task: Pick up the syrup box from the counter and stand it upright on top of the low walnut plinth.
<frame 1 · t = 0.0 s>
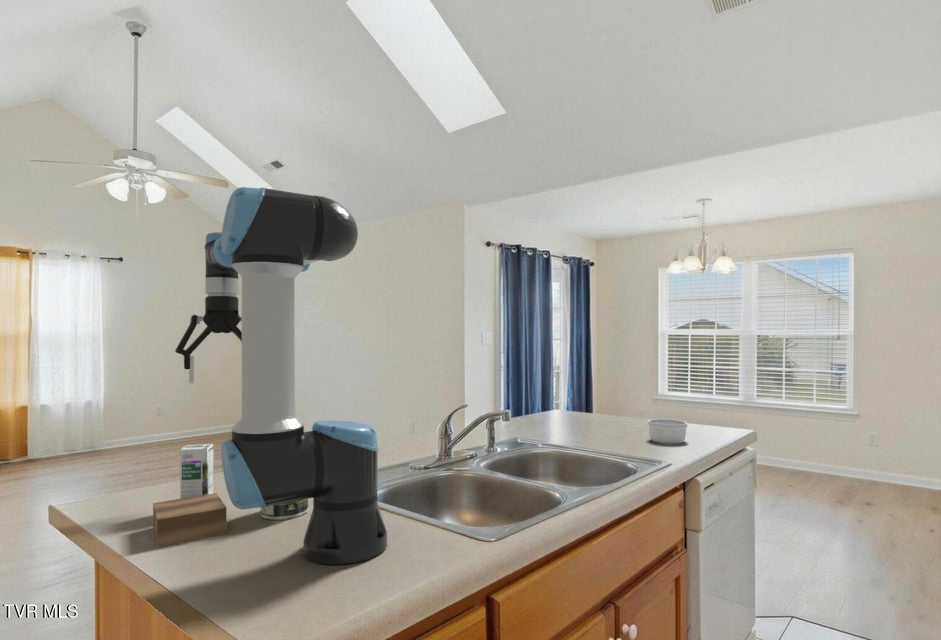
hand: (222, 381, 134), 28 cm above the worktop, tool pointing down, fingers open, 13 cm apart
coffee can: (284, 513, 121), on the worktop
plinth: (189, 530, 110), on the worktop
ramekin: (667, 441, 194), on the worktop
syrup box: (197, 511, 123), on the worktop
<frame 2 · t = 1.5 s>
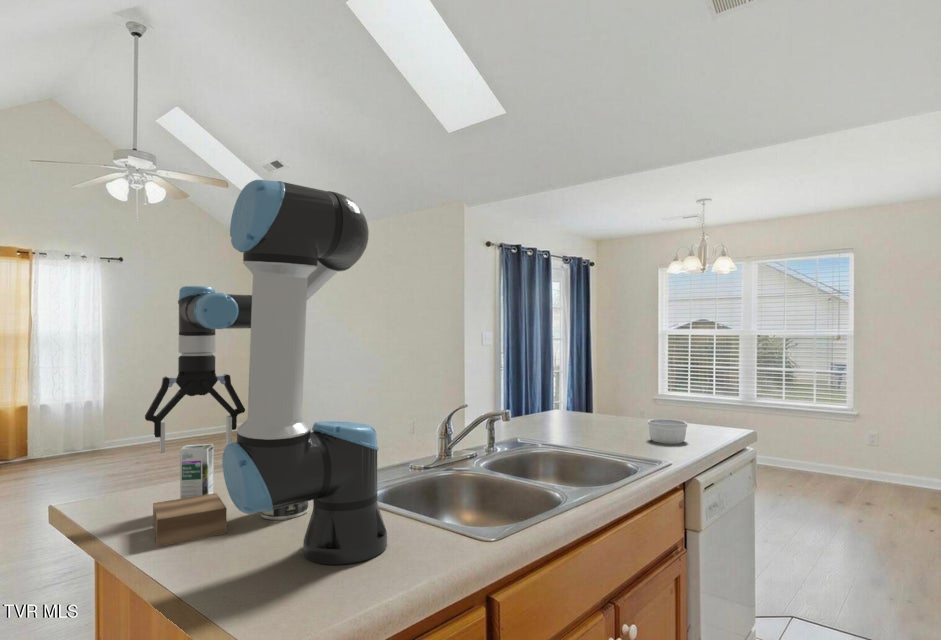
hand: (196, 448, 123), 14 cm above the worktop, tool pointing down, fingers open, 13 cm apart
nothing on the worktop moved.
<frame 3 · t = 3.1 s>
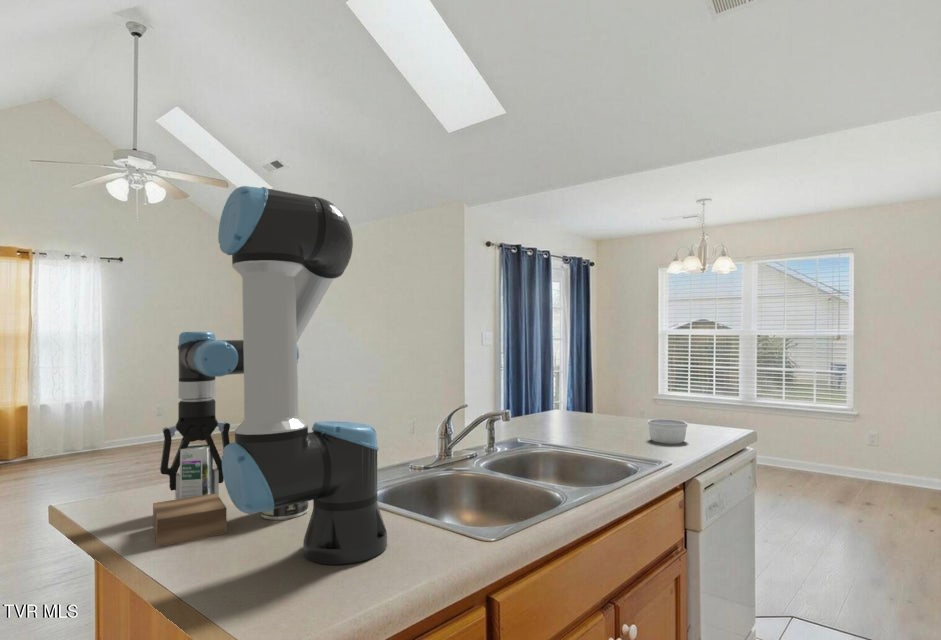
hand: (197, 500, 123), 2 cm above the worktop, tool pointing down, fingers closed on syrup box, 7 cm apart
syrup box: (197, 510, 123), on the worktop, touching gripper
everything else where it was.
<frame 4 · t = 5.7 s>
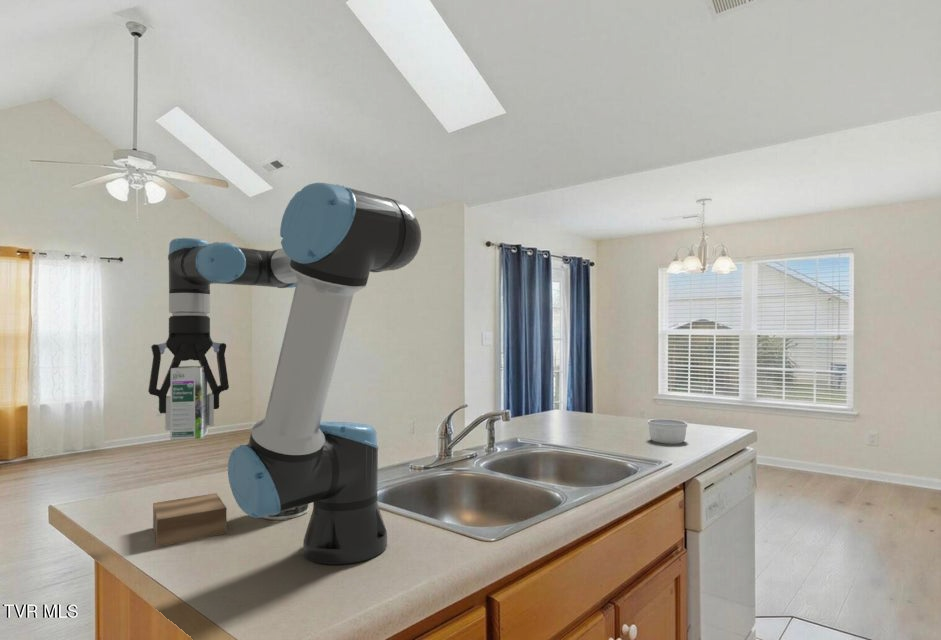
hand: (189, 427, 111), 21 cm above the worktop, tool pointing down, fingers closed on syrup box, 7 cm apart
syrup box: (189, 438, 111), point 19 cm above the worktop, touching gripper
everything else where it was.
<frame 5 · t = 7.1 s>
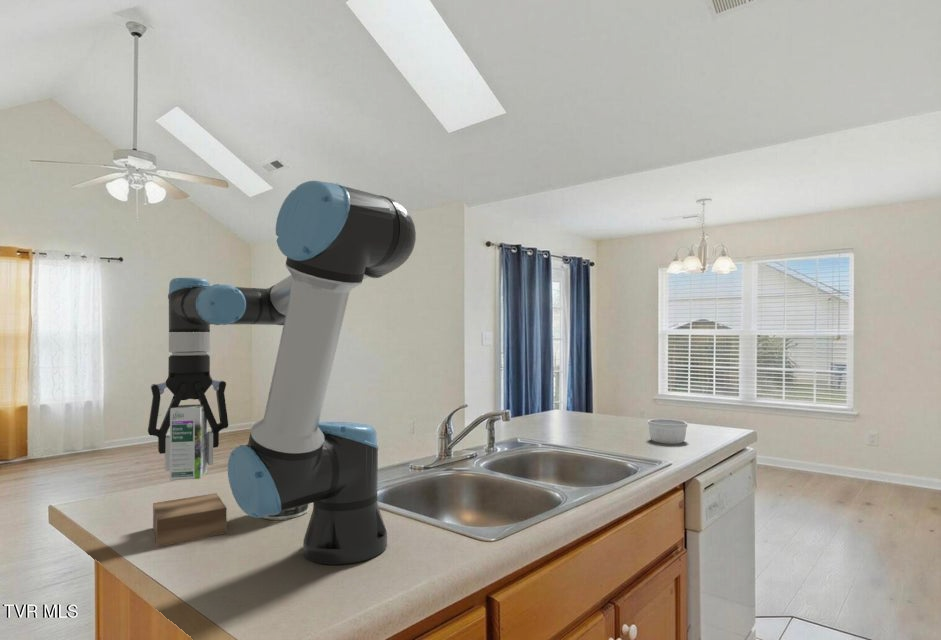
hand: (189, 466, 110), 13 cm above the worktop, tool pointing down, fingers closed on syrup box, 7 cm apart
syrup box: (188, 477, 110), point 11 cm above the worktop, touching gripper
everything else where it was.
when the fingers open (9 cm above the worktop, at t = 8.3 s): syrup box drops 1 cm, resting on plinth.
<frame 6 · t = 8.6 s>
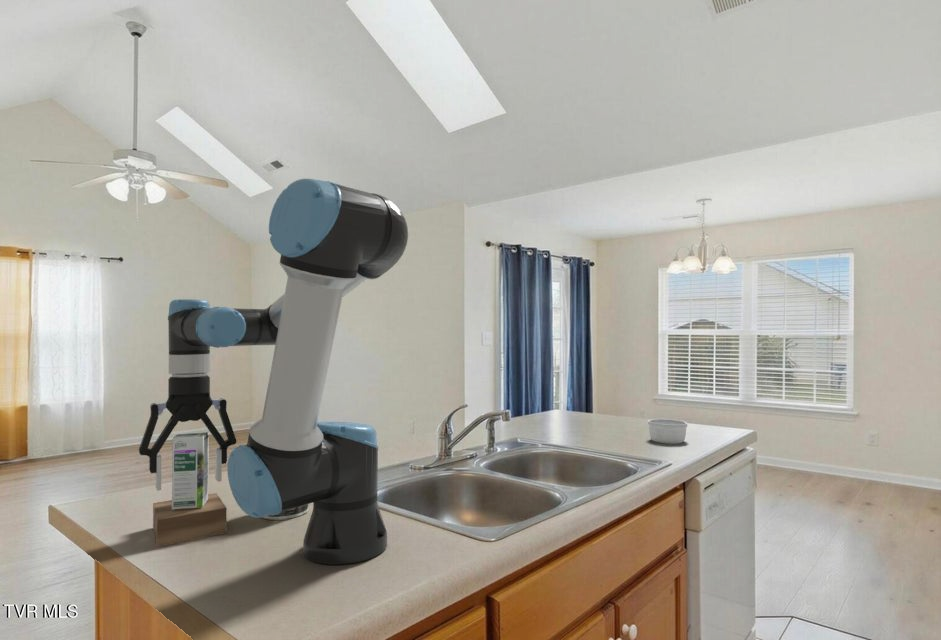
hand: (189, 484, 110), 9 cm above the worktop, tool pointing down, fingers open, 10 cm apart
syrup box: (190, 506, 110), point 5 cm above the worktop, touching plinth
everything else where it was.
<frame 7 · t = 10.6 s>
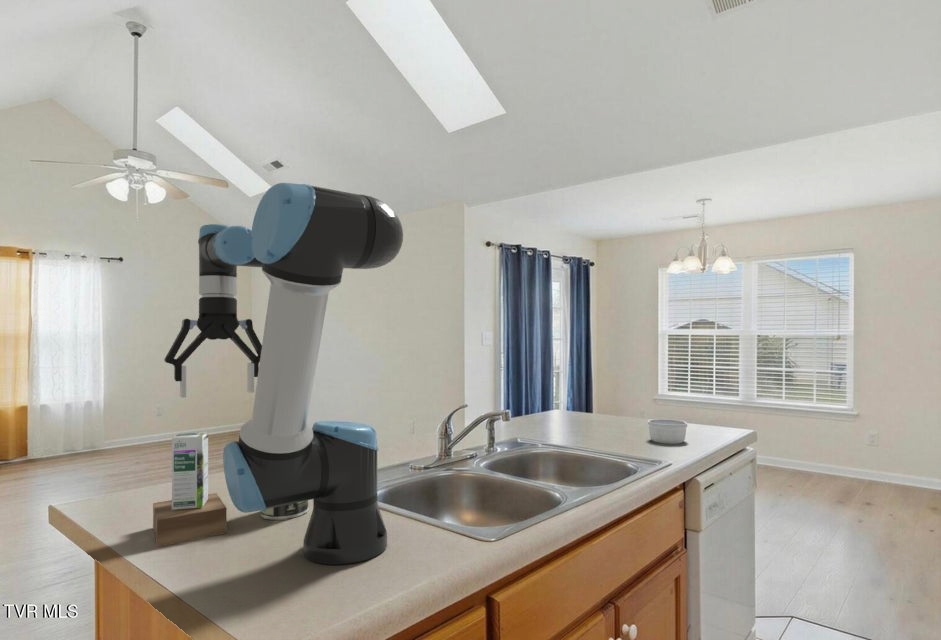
hand: (218, 394, 118), 27 cm above the worktop, tool pointing down, fingers open, 13 cm apart
nothing on the worktop moved.
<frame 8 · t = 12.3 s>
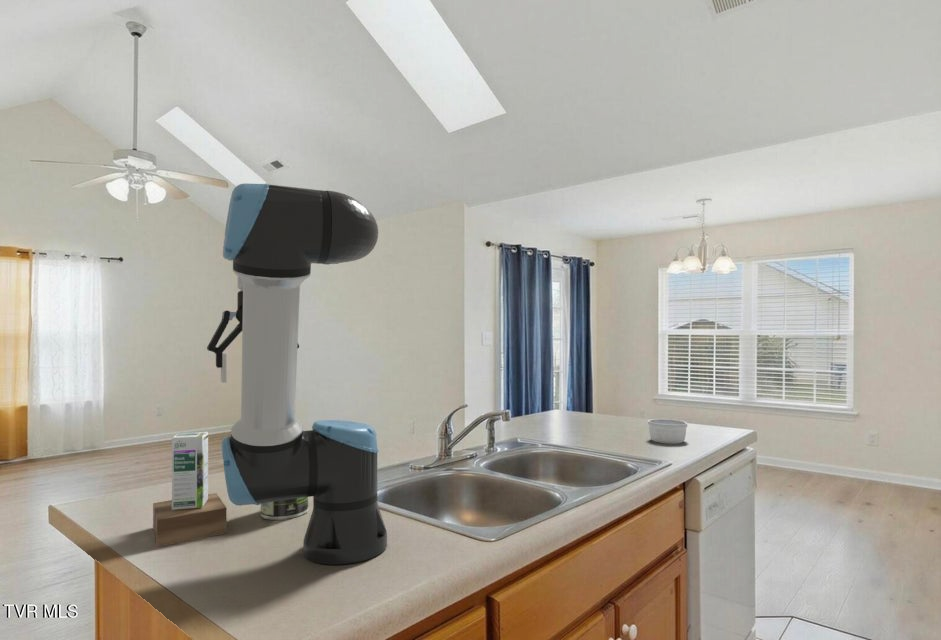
hand: (254, 380, 128), 29 cm above the worktop, tool pointing down, fingers open, 13 cm apart
nothing on the worktop moved.
at the end: syrup box inside the target area on the plinth (0.2 cm from its centre), point 4.8 cm above the plinth's base; syrup box tilted 0°; the gripper is holding nothing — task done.
